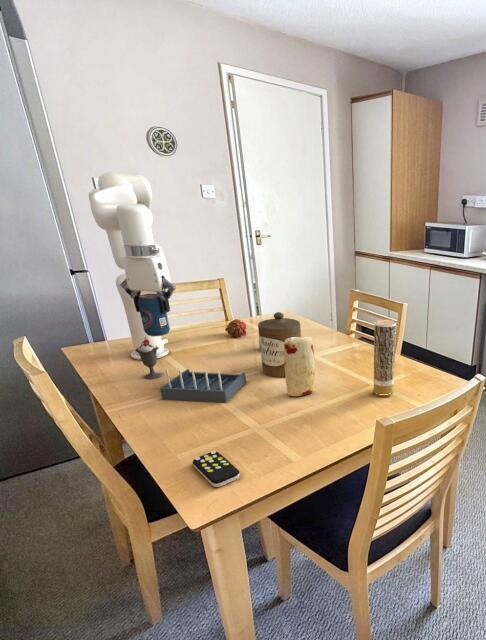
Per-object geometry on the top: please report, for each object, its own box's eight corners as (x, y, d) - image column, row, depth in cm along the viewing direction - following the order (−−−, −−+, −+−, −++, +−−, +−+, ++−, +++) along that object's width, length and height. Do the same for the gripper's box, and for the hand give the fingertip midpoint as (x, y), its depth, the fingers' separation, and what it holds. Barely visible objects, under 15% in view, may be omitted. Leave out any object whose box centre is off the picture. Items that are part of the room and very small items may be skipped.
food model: (290, 401, 131) (285, 341, 123) (283, 393, 136) (278, 335, 128) (319, 394, 136) (316, 337, 128) (311, 387, 141) (308, 331, 133)
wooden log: (396, 391, 142) (398, 321, 132) (388, 399, 136) (390, 326, 126) (378, 387, 144) (379, 318, 134) (370, 395, 138) (370, 323, 128)
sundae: (154, 380, 139) (144, 338, 133) (137, 378, 140) (127, 336, 134) (168, 373, 145) (160, 333, 139) (152, 371, 146) (143, 331, 140)
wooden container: (254, 372, 150) (247, 314, 141) (279, 360, 163) (275, 305, 154) (288, 380, 145) (283, 320, 136) (311, 366, 158) (308, 311, 149)
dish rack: (188, 379, 142) (184, 353, 138) (246, 382, 142) (243, 356, 138) (162, 399, 127) (156, 370, 123) (226, 402, 127) (222, 374, 123)
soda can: (139, 334, 126) (130, 296, 121) (160, 329, 132) (152, 292, 127) (155, 338, 124) (147, 299, 119) (175, 332, 130) (168, 295, 125)
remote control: (215, 490, 90) (214, 482, 89) (191, 465, 97) (190, 458, 96) (242, 477, 94) (241, 470, 93) (217, 455, 101) (216, 448, 101)
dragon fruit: (239, 343, 183) (234, 340, 192) (253, 331, 185) (248, 327, 194) (224, 329, 178) (220, 326, 188) (239, 316, 180) (234, 314, 190)
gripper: (177, 251, 121) (188, 310, 128) (119, 248, 121) (133, 307, 128) (163, 254, 114) (174, 316, 122) (101, 250, 114) (116, 313, 122)
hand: (153, 311), depth 125 cm, fingers closed on soda can, 7 cm apart
